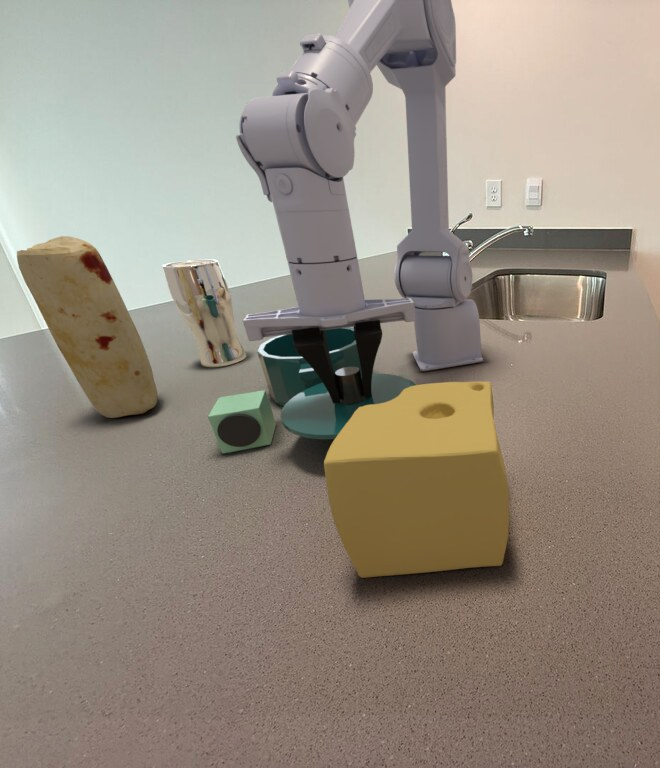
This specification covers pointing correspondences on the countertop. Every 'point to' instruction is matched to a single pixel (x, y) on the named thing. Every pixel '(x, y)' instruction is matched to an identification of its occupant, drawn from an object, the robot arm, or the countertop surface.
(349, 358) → the pot
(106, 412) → the food model
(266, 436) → the green speaker box
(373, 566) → the cheese
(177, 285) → the beer glass
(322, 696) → the countertop surface
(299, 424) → the lid
